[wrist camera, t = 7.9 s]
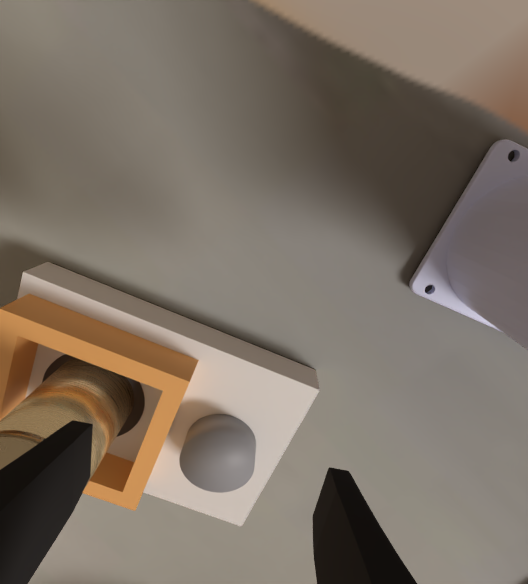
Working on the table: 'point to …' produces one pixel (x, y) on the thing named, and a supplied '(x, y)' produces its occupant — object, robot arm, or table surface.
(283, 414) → the white fixture board
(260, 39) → the table surface
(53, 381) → the bead tin
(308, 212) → the table surface
